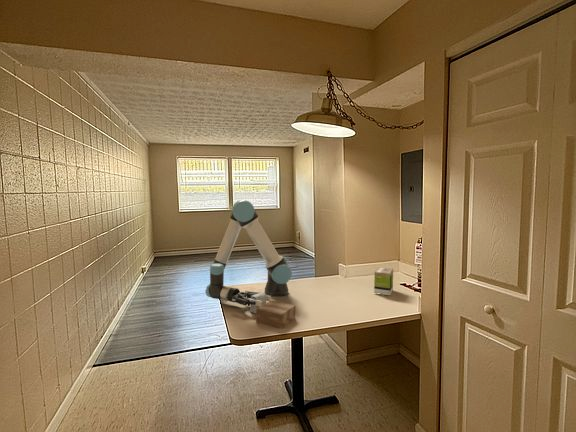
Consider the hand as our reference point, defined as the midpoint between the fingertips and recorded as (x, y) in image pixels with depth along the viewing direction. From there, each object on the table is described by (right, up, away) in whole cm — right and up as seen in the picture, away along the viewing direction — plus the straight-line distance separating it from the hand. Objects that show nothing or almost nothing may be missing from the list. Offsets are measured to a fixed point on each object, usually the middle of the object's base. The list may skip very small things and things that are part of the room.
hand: (266, 301), depth 162 cm
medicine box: (-4, -6, +2) cm, 8 cm away
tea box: (+74, -5, +41) cm, 85 cm away
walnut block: (+6, -7, -10) cm, 13 cm away
